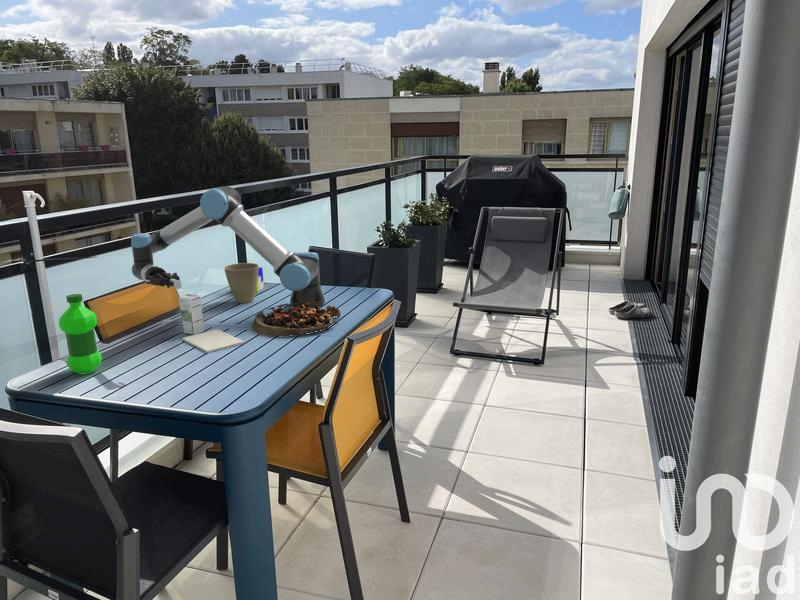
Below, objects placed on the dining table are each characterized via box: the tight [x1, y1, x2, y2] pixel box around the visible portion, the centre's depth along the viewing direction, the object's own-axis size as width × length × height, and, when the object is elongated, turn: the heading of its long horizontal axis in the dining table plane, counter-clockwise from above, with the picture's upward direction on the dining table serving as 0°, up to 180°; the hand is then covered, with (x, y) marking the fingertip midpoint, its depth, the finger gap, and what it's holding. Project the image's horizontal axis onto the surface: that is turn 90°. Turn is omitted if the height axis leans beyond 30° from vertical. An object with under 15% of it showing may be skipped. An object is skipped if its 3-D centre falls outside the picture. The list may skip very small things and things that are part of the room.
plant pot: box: [223, 262, 260, 304], centre depth 272 cm, size 15×15×16 cm
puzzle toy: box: [255, 266, 265, 293], centre depth 293 cm, size 10×10×10 cm
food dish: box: [251, 302, 342, 337], centre depth 239 cm, size 35×33×8 cm
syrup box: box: [178, 293, 205, 336], centre depth 229 cm, size 6×6×14 cm
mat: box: [181, 329, 245, 354], centre depth 220 cm, size 20×14×1 cm
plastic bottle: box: [58, 293, 103, 375], centre depth 191 cm, size 10×10×25 cm
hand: (179, 285), depth 232 cm, fingers closed
